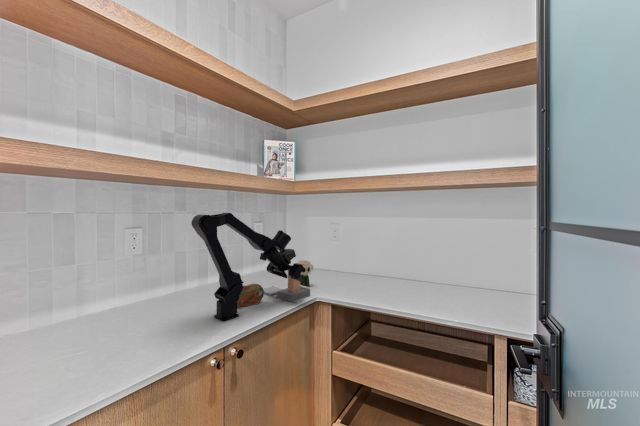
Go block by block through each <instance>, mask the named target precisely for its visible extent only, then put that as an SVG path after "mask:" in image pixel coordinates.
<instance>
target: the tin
mask: <svg viewBox="0 0 640 426" xmlns="http://www.w3.org/2000/svg"><path fill="white" fill-rule="evenodd" d="M263 289H264V288H263V287H262V285H260V284H258V283H249V284H244V285H243V289H242V292H241V293H240V296H239V299H238V301H237V309H241V308H245V307H249V306H253V305H254V306H255V305H257V304H259V303H260V302H261V301H262V300H263V298H264V295H265V294H264V290H263Z"/></svg>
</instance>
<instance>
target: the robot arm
mask: <svg viewBox="0 0 640 426" xmlns="http://www.w3.org/2000/svg"><path fill="white" fill-rule="evenodd" d="M224 225H226V226H227V227H228V228H230V229H232V231H234V232H236V233H238V234H239V235H240V236H241V237H243V238H245V239H246V240H247V242H248V243H249V245H250V246H251V247H253V249H255V250H256V251H262V252H260V255H259V260H262V261H267V262H269V263H268V264H267V266H266V271H267V272H268V273H269V274H273V275H275V276H278V277H281V278H284V279H288V273H286V271H287V272H288V271H289V276H290V277H291V278H292V279H295V280H297V281H300V282H301V281H302V277H301V272H302V271H303V269H304V266H303V265H302V264H298V263H297V262H295V263H293V264H292V265H290V264H291V263H292V260H293V259H294V258H296V257H297V253H296V251H295V249H292V248H287V246H288V245H289V243H290V242H291V241H292V237H291V236H290V235H289V234H287V233H286V232H284V231H283V230H282V229H281V230H278V231H277V232H276V234H275V235H274V236H273V238H271V237H269V236H266V235H264V234H263V233H260V232H257V231H255V230H254V229H252V228H251V227H249V226H248V225H247V224H245V223H244V222H243V221H241V220H240V219H239V218H237V217H236V216H235V215H234V214H233V213H231V212H221V213H217V214H196V215H195V216H194V217H192V220H191V226H192V228H193V229H194V231H195V232H196V234H197V235H198V236H199V237H200V238H201V239H202V240H203V241H204V244H205V246H206V248H207V250H208V253H209V256H210V257H211V261H212V262H213V264H214V266H215V268H216V270H217V273H218V276H219V277H218V279H219V280H218V282H219V287H218V288H217V290H215V292H214V293H213V294H214V297H215V300H216V299H217V300H216V314H214V316H213V317H214V318H216V319H218V320H220V321H222V322H225V321H228V320H232V319H234V318H237V317H239V315H240V314H239V313H238V308H237V301H238V299H239V296H240V293H241V292H242V289H243V286H244V285H243V284H244V281H243V279H242V277H241V274H240V273H238V272H235V271H233V270H232V268H231V266H230V263H229V261H228V259H227V257H226V255H225V252H224V249H223V247H222V245H221V242H220V240H219V238H218V228H219V227H221V226H224Z"/></svg>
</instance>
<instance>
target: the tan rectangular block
mask: <svg viewBox="0 0 640 426" xmlns="http://www.w3.org/2000/svg"><path fill="white" fill-rule="evenodd" d="M287 276H288V277H287V288H288V291H290V292H296V291H299V290H300V281H297V280H295V279H292V278H291V277H290V276H289V271H287Z"/></svg>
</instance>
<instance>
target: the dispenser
mask: <svg viewBox="0 0 640 426" xmlns="http://www.w3.org/2000/svg"><path fill="white" fill-rule="evenodd" d="M282 289H283V290H280V291H277V294H276V295H277V296H276V297H277V299H280V300H284V301H287V302H290V303H293V302H295V301H299V300H301V299H304V298H307V297H310V296H311V289H310V286H308V287H307V286H302V285H300V290H299V291H296V292H290V291H288V287H287V288H282Z"/></svg>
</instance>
